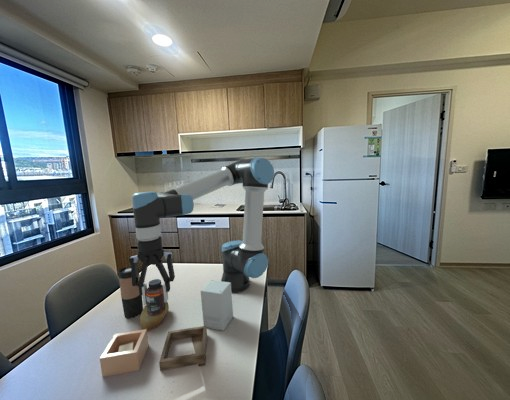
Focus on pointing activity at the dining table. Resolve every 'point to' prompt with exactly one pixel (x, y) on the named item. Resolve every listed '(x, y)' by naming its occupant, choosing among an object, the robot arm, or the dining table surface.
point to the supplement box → (217, 304)
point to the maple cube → (126, 347)
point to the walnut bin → (181, 361)
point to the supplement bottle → (155, 298)
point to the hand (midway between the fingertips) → (156, 301)
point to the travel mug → (130, 294)
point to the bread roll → (151, 318)
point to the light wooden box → (124, 353)
